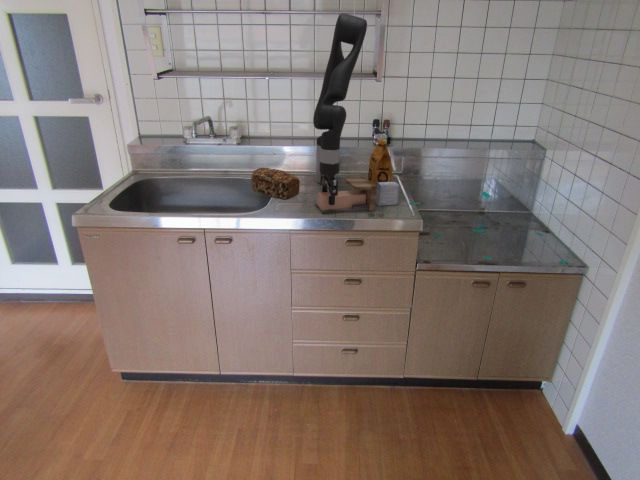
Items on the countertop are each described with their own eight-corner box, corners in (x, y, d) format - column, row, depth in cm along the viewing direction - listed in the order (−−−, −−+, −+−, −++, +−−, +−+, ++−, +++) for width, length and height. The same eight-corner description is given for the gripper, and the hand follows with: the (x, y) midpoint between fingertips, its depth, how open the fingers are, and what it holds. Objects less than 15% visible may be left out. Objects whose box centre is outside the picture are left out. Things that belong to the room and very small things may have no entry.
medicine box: (393, 201, 182) (395, 181, 179) (397, 205, 178) (399, 184, 175) (375, 202, 181) (377, 182, 177) (378, 206, 177) (380, 185, 173)
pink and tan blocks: (314, 204, 176) (314, 180, 172) (362, 200, 182) (364, 177, 178) (323, 215, 166) (324, 189, 162) (374, 210, 172) (376, 185, 168)
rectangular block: (317, 204, 174) (317, 192, 172) (359, 201, 179) (360, 189, 177) (322, 210, 168) (322, 197, 166) (365, 206, 174) (366, 194, 172)
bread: (250, 192, 189) (250, 169, 184) (266, 185, 197) (266, 164, 193) (285, 200, 180) (285, 177, 175) (300, 194, 188) (301, 171, 184)
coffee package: (369, 195, 189) (373, 144, 179) (365, 186, 200) (369, 137, 191) (392, 195, 189) (398, 144, 180) (387, 186, 200) (392, 138, 191)
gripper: (314, 156, 169) (313, 195, 176) (326, 165, 157) (324, 208, 164) (333, 155, 171) (331, 194, 178) (345, 164, 159) (343, 206, 166)
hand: (328, 201), depth 171 cm, fingers open, 8 cm apart
